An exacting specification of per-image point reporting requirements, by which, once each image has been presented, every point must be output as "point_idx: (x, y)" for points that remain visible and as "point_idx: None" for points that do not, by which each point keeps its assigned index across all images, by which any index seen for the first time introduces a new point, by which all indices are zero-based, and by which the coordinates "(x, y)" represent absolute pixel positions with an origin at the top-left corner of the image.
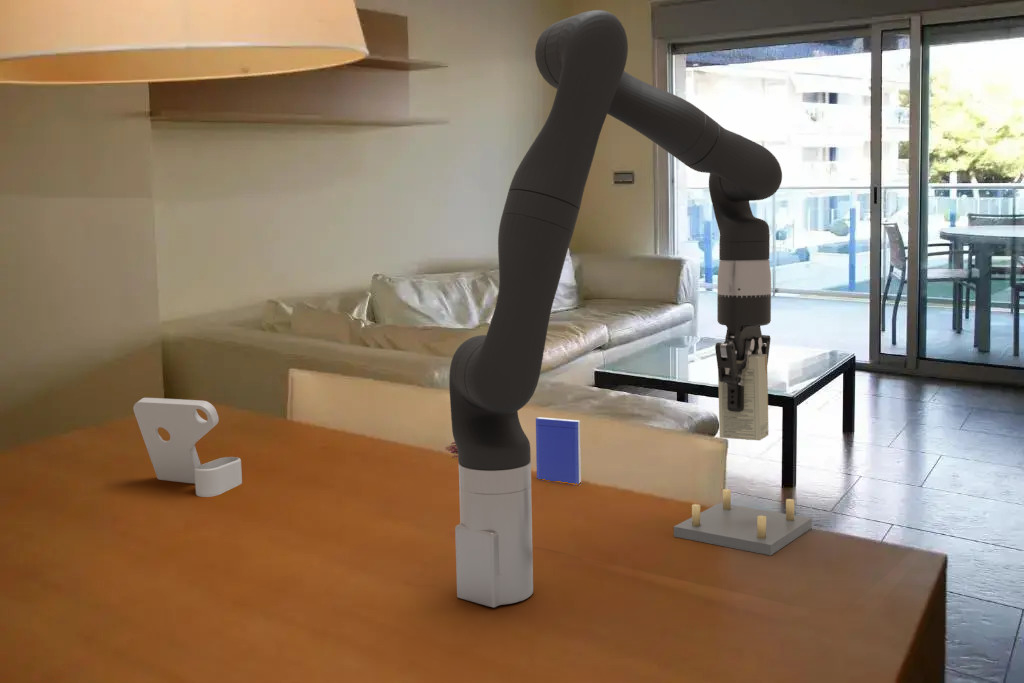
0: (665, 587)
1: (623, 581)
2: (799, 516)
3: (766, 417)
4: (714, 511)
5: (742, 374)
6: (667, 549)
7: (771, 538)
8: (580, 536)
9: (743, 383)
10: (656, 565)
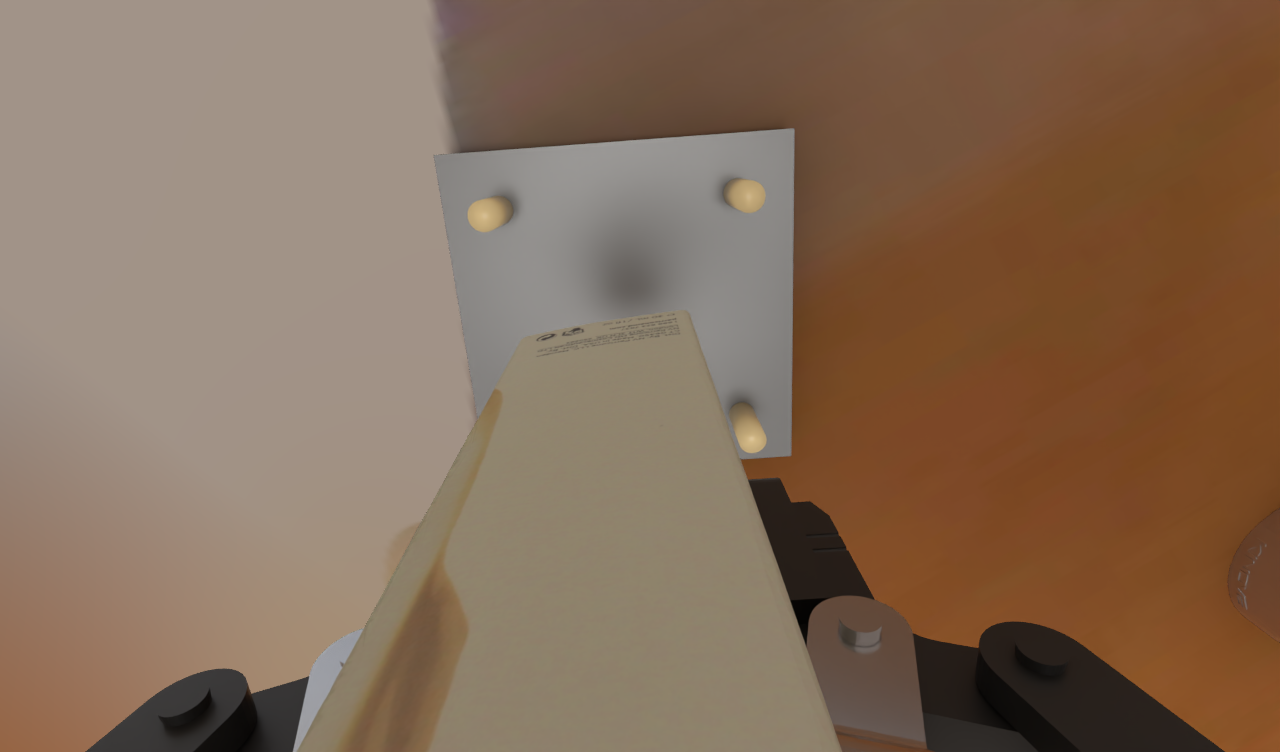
0: (1188, 238)
1: (1188, 349)
2: (443, 201)
3: (548, 366)
4: None
5: (882, 701)
6: (895, 398)
7: (729, 160)
8: (915, 614)
9: (848, 606)
10: (1033, 350)
